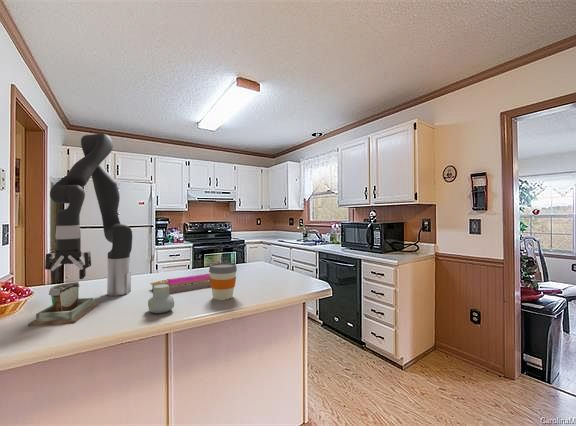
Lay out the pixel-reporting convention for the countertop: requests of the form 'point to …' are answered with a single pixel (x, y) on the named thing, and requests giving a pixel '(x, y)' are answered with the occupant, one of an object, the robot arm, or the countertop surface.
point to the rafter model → (198, 280)
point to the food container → (64, 296)
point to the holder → (64, 314)
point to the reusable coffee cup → (222, 280)
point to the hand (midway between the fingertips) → (68, 279)
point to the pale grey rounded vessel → (160, 299)
